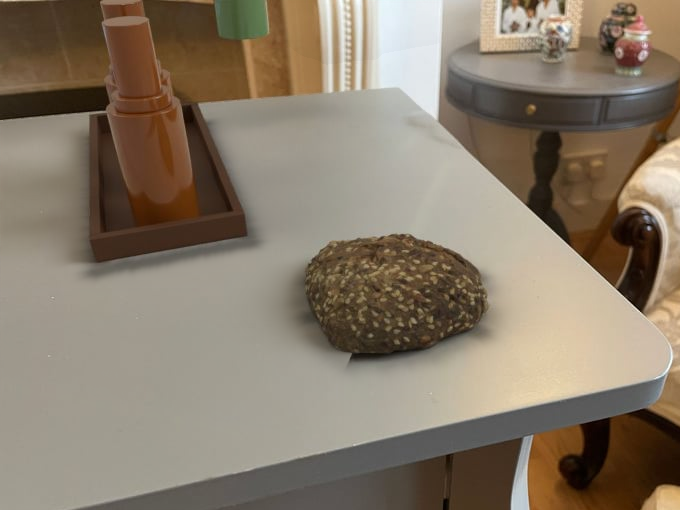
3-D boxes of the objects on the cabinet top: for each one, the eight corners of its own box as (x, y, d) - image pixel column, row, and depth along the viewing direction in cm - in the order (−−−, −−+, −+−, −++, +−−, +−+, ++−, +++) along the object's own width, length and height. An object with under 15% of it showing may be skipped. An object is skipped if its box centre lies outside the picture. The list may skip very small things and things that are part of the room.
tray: (248, 241, 53) (244, 213, 52) (98, 269, 50) (89, 239, 48) (200, 123, 76) (196, 101, 75) (95, 137, 73) (89, 114, 71)
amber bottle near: (122, 233, 53) (67, 27, 44) (157, 203, 58) (113, 11, 49) (181, 240, 52) (138, 31, 43) (212, 210, 57) (179, 14, 48)
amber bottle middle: (118, 193, 60) (70, 5, 51) (150, 169, 64) (111, -7, 55) (171, 199, 58) (132, 8, 50) (200, 174, 63) (168, -5, 54)
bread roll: (316, 369, 40) (310, 303, 37) (300, 264, 50) (294, 206, 48) (514, 343, 42) (523, 279, 39) (460, 248, 52) (464, 191, 49)
